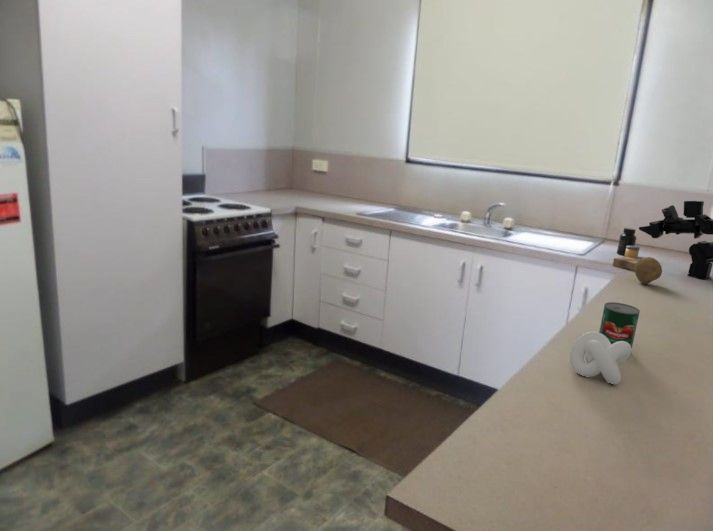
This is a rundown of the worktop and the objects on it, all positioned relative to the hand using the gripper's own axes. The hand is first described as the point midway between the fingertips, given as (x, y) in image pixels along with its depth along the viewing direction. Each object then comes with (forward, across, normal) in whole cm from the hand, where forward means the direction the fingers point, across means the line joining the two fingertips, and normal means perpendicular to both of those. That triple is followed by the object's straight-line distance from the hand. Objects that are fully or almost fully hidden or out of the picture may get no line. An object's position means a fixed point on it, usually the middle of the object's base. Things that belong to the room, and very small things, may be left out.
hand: (644, 226), depth 235 cm
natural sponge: (-17, +38, +14) cm, 44 cm away
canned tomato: (-46, +113, +6) cm, 122 cm away
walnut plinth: (-2, +17, +14) cm, 22 cm away
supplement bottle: (+13, -7, +15) cm, 21 cm away
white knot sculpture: (-53, +132, +5) cm, 142 cm away
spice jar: (+3, +8, +14) cm, 17 cm away
